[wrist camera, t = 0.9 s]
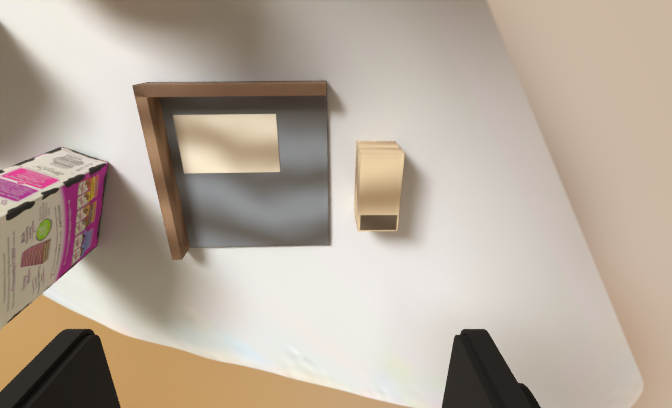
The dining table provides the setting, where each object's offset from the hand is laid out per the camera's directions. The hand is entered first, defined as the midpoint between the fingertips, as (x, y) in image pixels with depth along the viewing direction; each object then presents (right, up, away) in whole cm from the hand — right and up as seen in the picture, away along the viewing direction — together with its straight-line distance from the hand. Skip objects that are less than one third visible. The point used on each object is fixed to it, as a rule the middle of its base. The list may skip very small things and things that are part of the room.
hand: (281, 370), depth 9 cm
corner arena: (-8, +8, +28) cm, 30 cm away
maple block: (+6, +7, +29) cm, 30 cm away
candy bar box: (-26, +5, +29) cm, 40 cm away
